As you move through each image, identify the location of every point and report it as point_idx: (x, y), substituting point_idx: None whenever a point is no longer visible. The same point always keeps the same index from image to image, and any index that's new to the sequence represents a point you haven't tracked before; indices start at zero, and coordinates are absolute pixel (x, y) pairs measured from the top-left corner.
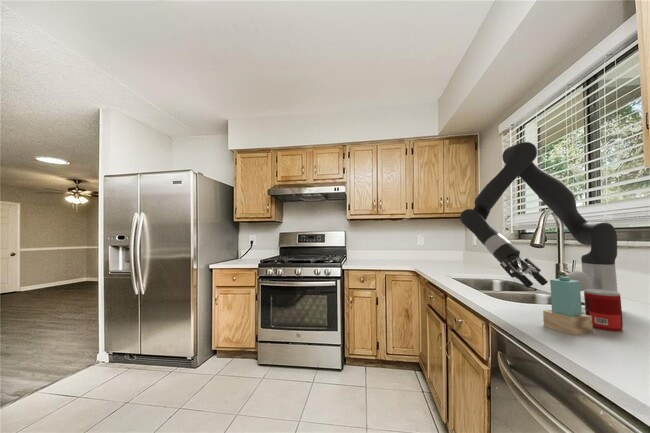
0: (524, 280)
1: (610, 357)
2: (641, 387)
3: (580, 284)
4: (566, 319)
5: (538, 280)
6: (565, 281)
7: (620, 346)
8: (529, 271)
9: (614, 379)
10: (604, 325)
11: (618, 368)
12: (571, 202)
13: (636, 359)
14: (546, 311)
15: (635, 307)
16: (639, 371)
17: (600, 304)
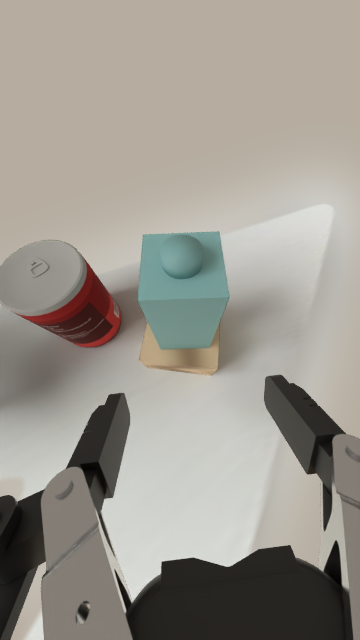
0: (316, 409)
1: (258, 249)
2: (309, 209)
3: None
4: None
5: (121, 445)
6: (210, 246)
7: None
8: (114, 555)
9: (320, 221)
10: (117, 306)
11: (285, 232)
12: None
13: (231, 237)
14: (216, 359)
15: None
16: (268, 223)
17: (99, 282)
